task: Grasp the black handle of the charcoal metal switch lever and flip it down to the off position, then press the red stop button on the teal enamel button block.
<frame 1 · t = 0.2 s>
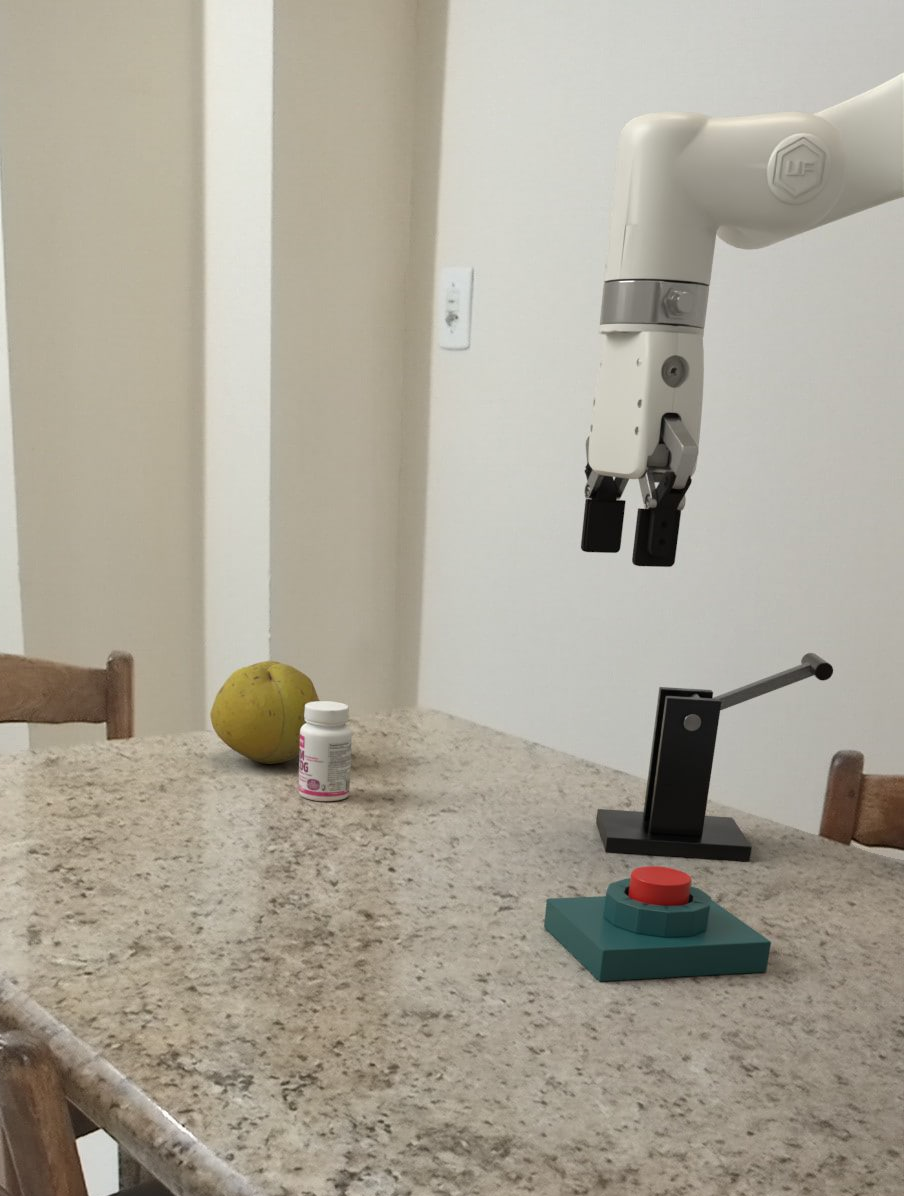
hand: (625, 558, 106), 24 cm above the table, tool pointing down, fingers open, 9 cm apart
switch bracket: (669, 841, 119), on the table
pill bottle: (323, 797, 128), on the table
stop button: (659, 887, 93), point 4 cm above the table, slide at 0.1 cm
fruit: (266, 764, 139), on the table
button block: (651, 949, 94), on the table
switch lever: (747, 692, 114), point 13 cm above the table, hinge at 25.0°
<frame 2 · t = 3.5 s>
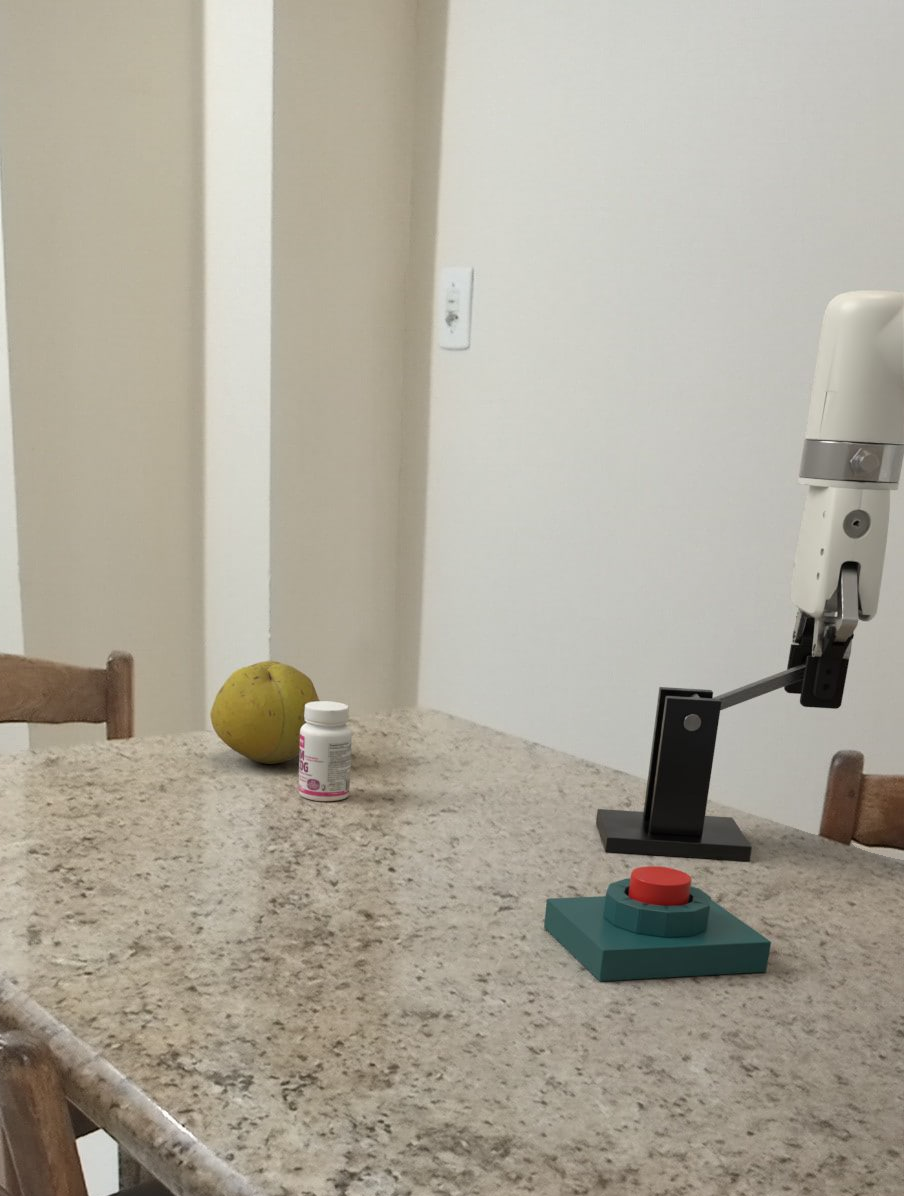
hand: (811, 697, 114), 13 cm above the table, tool pointing down, fingers closed on switch lever, 5 cm apart
switch lever: (747, 692, 114), point 13 cm above the table, hinge at 25.0°, touching gripper
everything else where it was.
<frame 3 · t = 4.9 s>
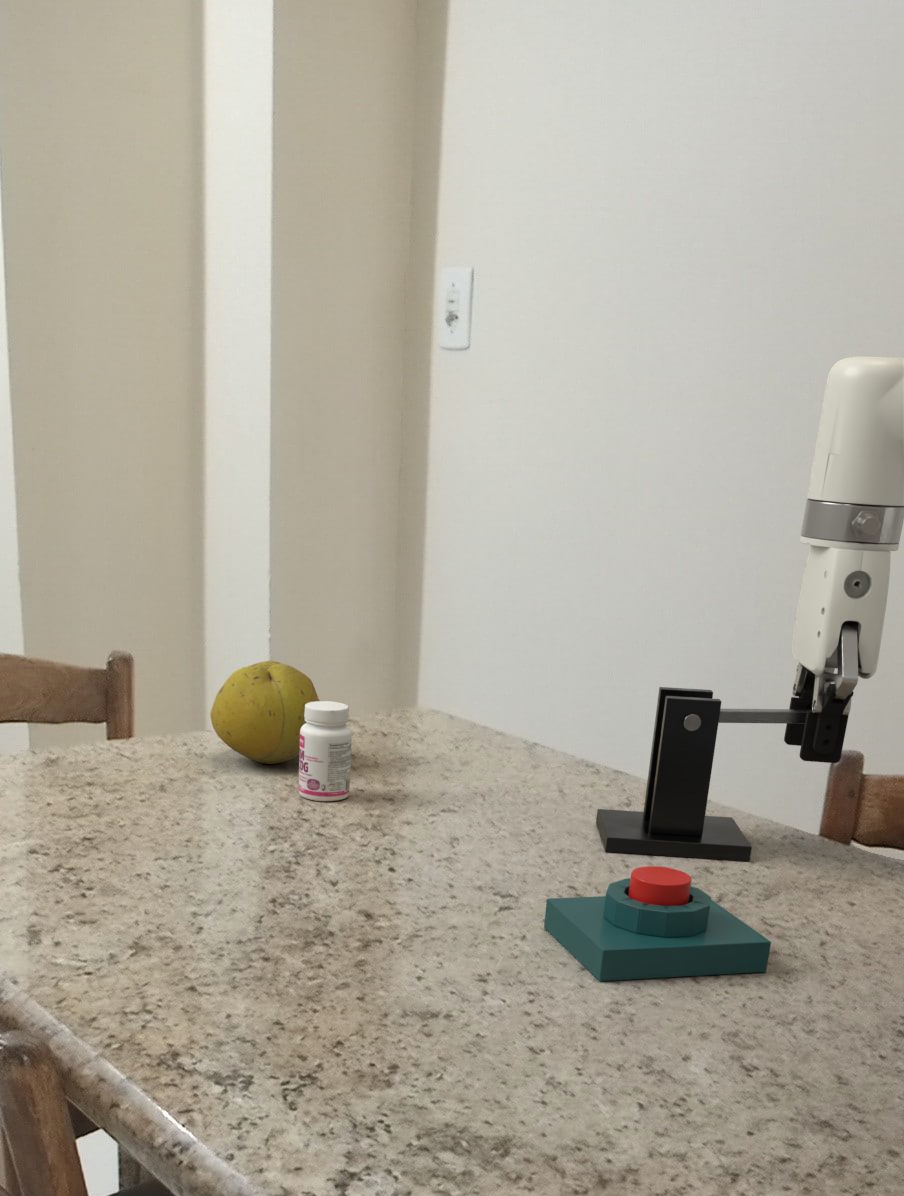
hand: (811, 750, 115), 9 cm above the table, tool pointing down, fingers closed on switch lever, 5 cm apart
switch lever: (749, 715, 115), point 11 cm above the table, hinge at 2.8°, touching gripper
everything else where it was.
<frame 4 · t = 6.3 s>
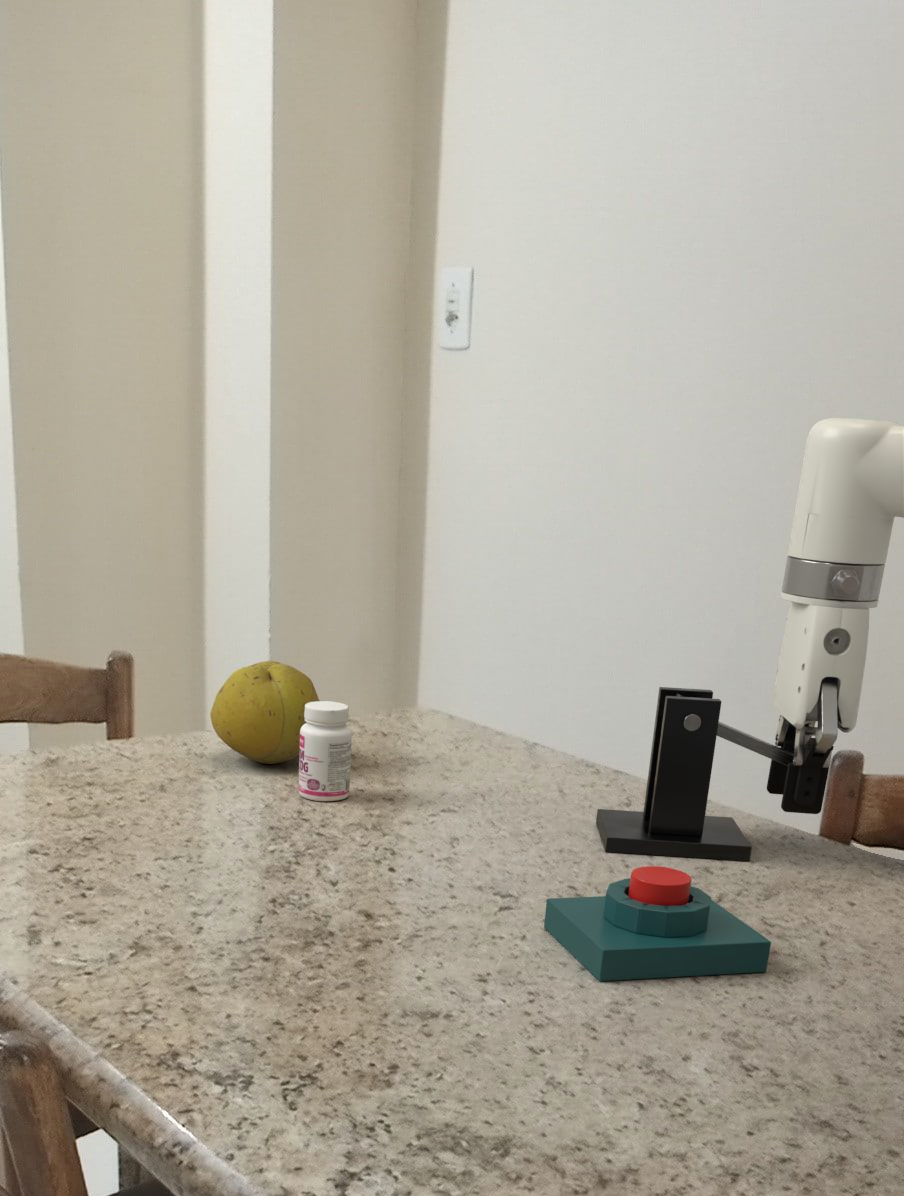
hand: (792, 800, 117), 4 cm above the table, tool pointing down, fingers closed on switch lever, 5 cm apart
switch lever: (742, 739, 115), point 9 cm above the table, hinge at -19.5°, touching gripper
everything else where it was.
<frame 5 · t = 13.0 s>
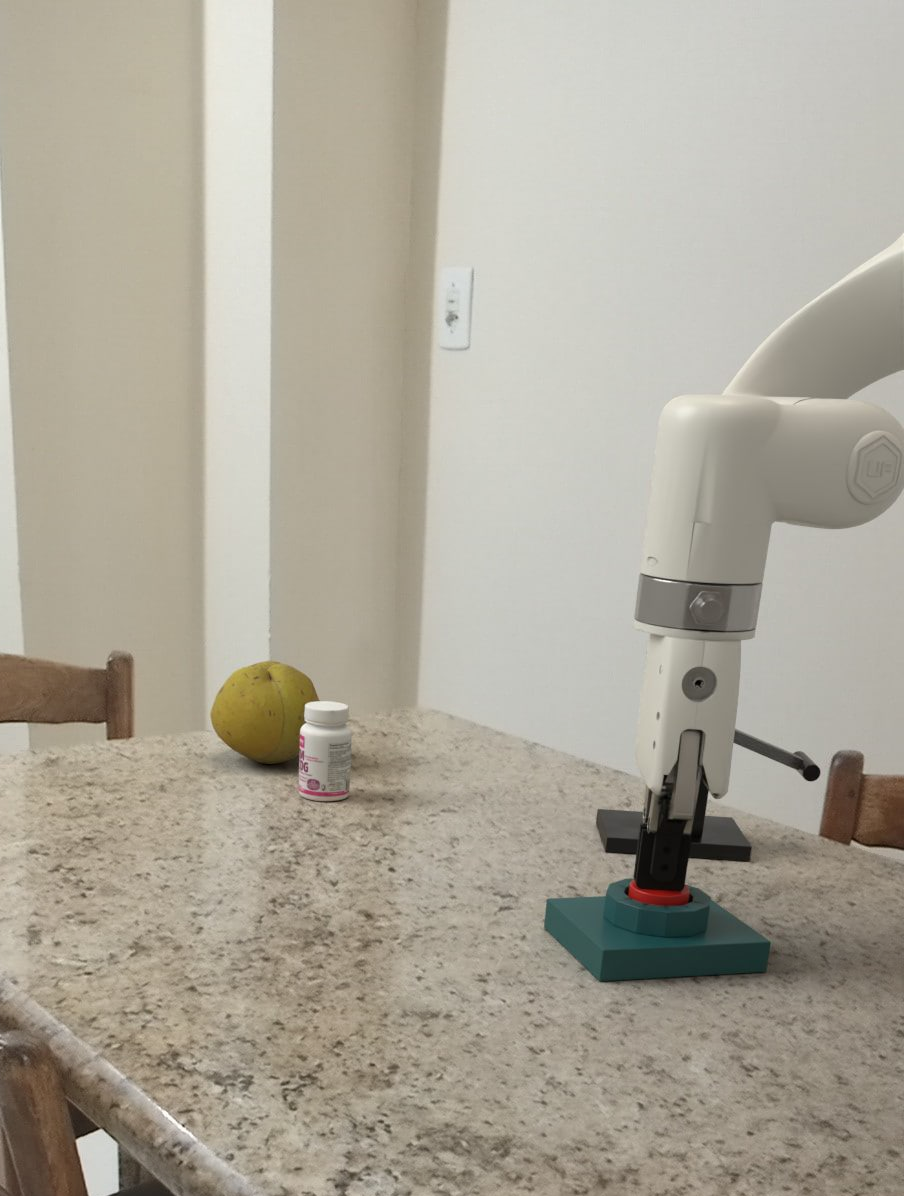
hand: (658, 885, 93), 5 cm above the table, tool pointing down, fingers closed
stop button: (658, 898, 93), point 4 cm above the table, slide at -0.7 cm, touching gripper
switch lever: (742, 739, 115), point 9 cm above the table, hinge at -19.5°
everything else where it was.
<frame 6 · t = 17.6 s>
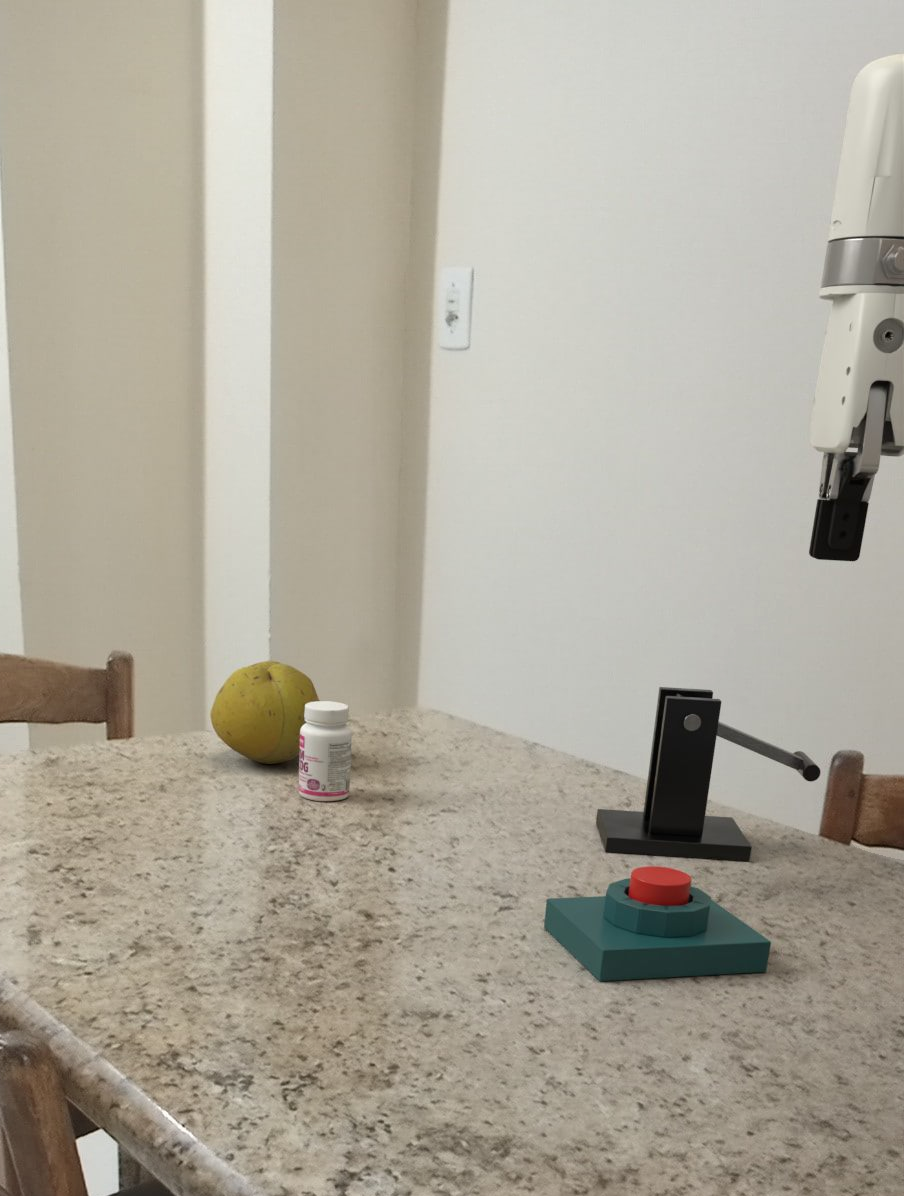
hand: (833, 558, 99), 25 cm above the table, tool pointing down, fingers closed
stop button: (659, 887, 93), point 4 cm above the table, slide at 0.1 cm
everything else where it was.
at the end: switch lever at -20° (first picture: +25°); stop button pushed in 1.1 cm at the most during the clip, back to where it started at the end; stop button slide at 0.1 cm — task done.
